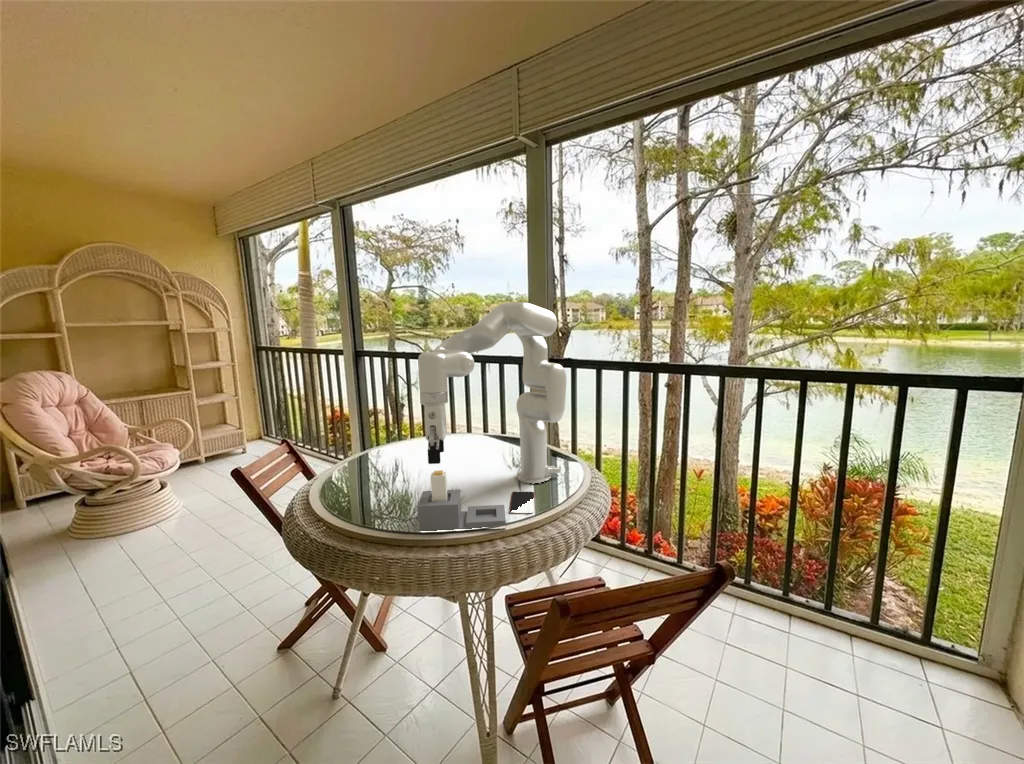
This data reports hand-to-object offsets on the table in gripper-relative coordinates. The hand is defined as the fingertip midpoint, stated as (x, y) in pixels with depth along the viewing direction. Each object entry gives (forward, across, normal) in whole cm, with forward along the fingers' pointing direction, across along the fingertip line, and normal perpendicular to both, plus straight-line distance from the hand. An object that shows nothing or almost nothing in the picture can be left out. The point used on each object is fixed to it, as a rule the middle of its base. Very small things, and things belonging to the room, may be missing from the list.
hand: (436, 457), depth 118 cm
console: (+20, 0, -7) cm, 21 cm away
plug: (+13, 0, 0) cm, 13 cm away
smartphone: (+20, +12, -25) cm, 34 cm away
